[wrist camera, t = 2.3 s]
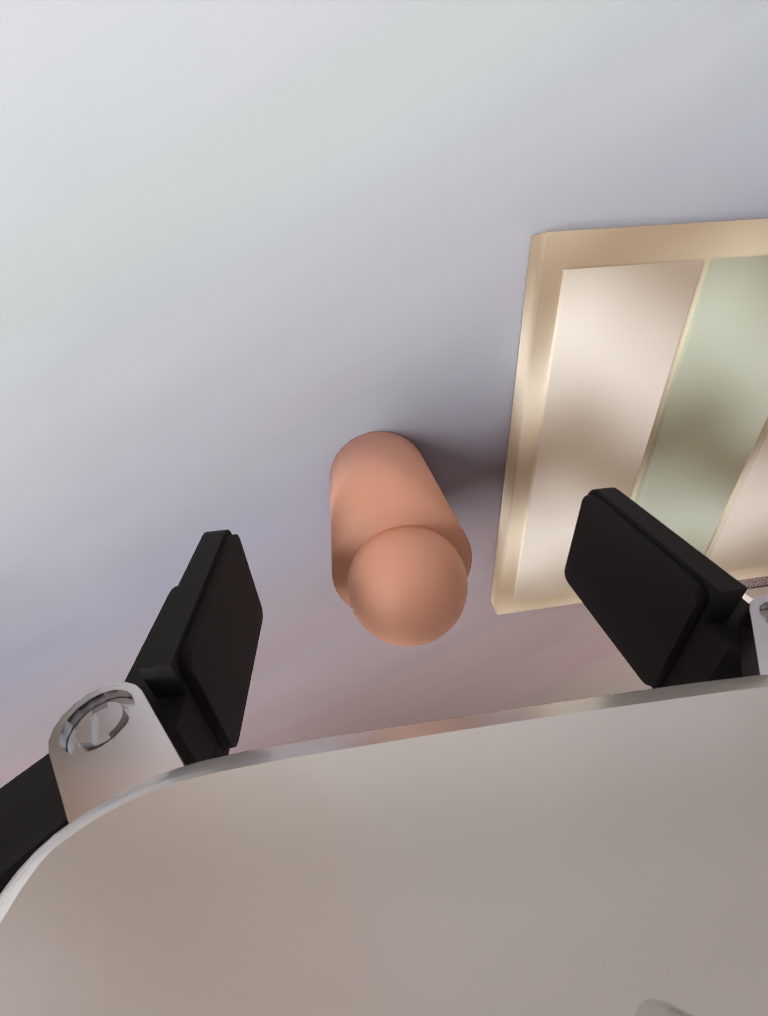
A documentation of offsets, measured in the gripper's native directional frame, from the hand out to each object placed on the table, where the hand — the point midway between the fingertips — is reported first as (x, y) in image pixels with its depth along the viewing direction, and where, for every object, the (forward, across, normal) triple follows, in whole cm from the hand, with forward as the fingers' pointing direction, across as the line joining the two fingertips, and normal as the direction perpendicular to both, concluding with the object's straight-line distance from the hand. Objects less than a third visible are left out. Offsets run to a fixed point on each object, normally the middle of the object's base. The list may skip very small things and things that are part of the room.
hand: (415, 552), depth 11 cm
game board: (+6, -16, +1) cm, 17 cm away
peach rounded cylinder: (+6, 0, +1) cm, 6 cm away
